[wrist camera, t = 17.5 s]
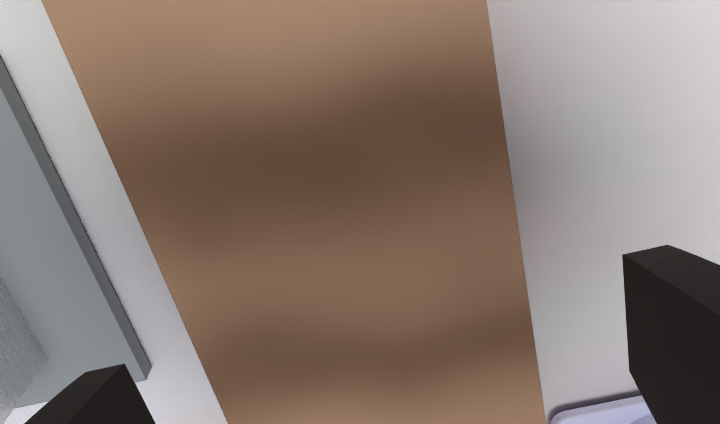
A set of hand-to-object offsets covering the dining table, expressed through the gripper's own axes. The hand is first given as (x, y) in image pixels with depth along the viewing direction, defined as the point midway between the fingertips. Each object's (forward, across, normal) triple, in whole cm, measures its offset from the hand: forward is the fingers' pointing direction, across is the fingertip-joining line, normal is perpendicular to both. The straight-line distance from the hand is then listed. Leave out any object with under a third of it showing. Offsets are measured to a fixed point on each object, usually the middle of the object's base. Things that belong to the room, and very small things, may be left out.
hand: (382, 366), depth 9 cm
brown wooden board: (+8, +1, -1) cm, 9 cm away
